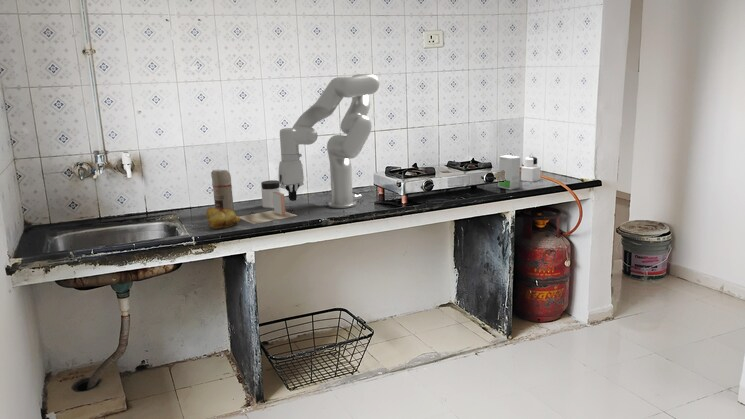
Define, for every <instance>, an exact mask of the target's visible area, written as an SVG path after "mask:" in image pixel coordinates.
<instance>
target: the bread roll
mask: <svg viewBox="0 0 745 419" xmlns="http://www.w3.org/2000/svg"><path fill="white" fill-rule="evenodd" d="M205 213H206V218H207V222H208V226H210V228H211V229H216V230H217V229H221V228H223V229H224V228H226V229H227V228H231V227H232V226H236V225H238V224H239V222H240V221H241V219H240V218H239V217H240V216H238V215H236V213H235V210H234V211H232V210H230V209H223V210H221V211H220V210H218V209H215V207H212V206H211V207H209V208H207V210H206V212H205Z"/></svg>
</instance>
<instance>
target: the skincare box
mask: <svg viewBox="0 0 745 419" xmlns="http://www.w3.org/2000/svg"><path fill="white" fill-rule="evenodd" d="M498 164H499V166H498V167H499V168H498V171H499V170H504V171H505V174H506V181H504V182H499V181H498V182H497V186H498V187H497V188H501V189H506V190H515V189H519V188H520V175H521V172H520V171H521V156H517V155H511V154H505V155H500V156H499V162H498Z"/></svg>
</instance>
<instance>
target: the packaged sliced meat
mask: <svg viewBox="0 0 745 419" xmlns="http://www.w3.org/2000/svg"><path fill="white" fill-rule="evenodd" d="M296 216H298V215H297V214H294V213H291V212H288V211H286V210H285V215H283V216H282V215H279V214H276V213H274V209H272V210H268V211H263V212H257V213H251V214H246V215H241V216H238V217H239V218H240V220H243V221H245V222H248V223H250V224H251V225H257V224H261V223H267V222H273V221H276V220H278V221H279V220H282V219H287V218H293V217H296Z"/></svg>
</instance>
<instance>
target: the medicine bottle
mask: <svg viewBox="0 0 745 419" xmlns="http://www.w3.org/2000/svg"><path fill="white" fill-rule="evenodd" d="M524 158H525V159H524V166H520V171H521V172H520V180H521V181H522V182H523V181H524V182H529V183H530V182H531V183H534V182H538V181H540V180H541V166H538V158H537V157H535V156H526V157H524Z"/></svg>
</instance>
